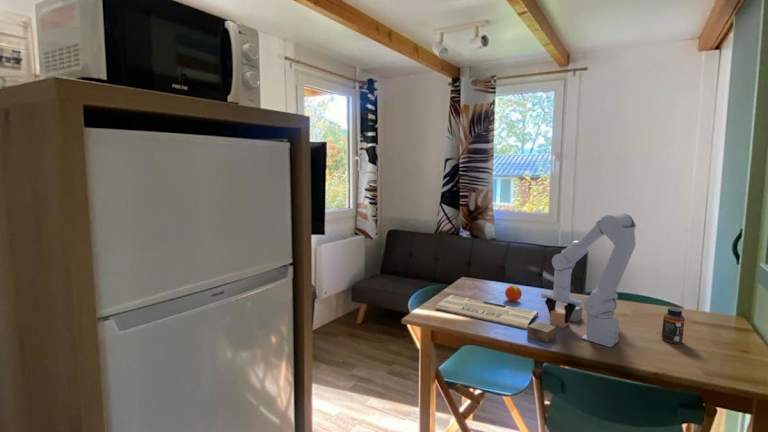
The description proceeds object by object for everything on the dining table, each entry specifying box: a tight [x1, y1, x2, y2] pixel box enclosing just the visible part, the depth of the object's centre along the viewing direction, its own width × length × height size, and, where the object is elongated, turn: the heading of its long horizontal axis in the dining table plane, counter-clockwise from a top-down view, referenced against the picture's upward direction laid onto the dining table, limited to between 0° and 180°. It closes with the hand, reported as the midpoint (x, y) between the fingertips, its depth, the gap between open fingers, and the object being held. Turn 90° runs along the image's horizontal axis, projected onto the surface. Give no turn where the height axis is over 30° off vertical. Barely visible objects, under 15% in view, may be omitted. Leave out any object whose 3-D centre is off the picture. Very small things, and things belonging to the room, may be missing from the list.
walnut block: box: [526, 320, 557, 344], centre depth 145 cm, size 7×7×4 cm
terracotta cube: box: [549, 307, 570, 329], centre depth 158 cm, size 5×5×5 cm
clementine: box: [504, 285, 523, 302], centre depth 183 cm, size 8×7×7 cm
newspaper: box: [435, 294, 539, 330], centre depth 169 cm, size 37×19×3 cm, turn 57°
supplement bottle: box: [661, 306, 686, 344], centre depth 143 cm, size 6×6×11 cm
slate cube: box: [563, 303, 584, 322], centre depth 164 cm, size 5×5×5 cm
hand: (559, 320), depth 158 cm, fingers closed on terracotta cube, 5 cm apart
